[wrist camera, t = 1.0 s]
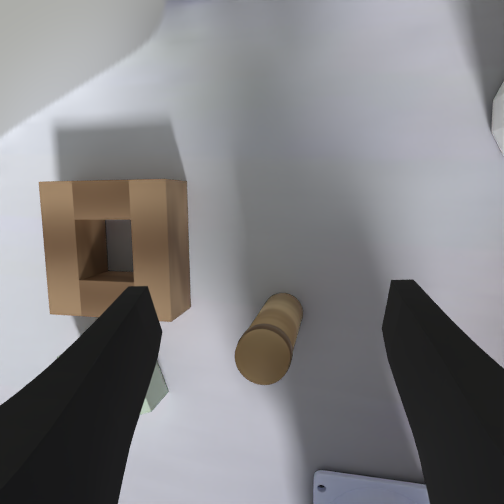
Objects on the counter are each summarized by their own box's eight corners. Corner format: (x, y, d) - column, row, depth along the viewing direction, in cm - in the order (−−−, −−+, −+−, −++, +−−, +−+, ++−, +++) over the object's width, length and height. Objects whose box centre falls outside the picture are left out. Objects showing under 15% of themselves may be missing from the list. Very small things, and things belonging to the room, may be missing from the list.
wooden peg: (303, 333, 23) (290, 388, 16) (263, 330, 24) (234, 383, 17) (303, 293, 23) (290, 332, 16) (262, 291, 23) (233, 329, 17)
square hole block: (190, 307, 25) (171, 321, 22) (81, 301, 26) (49, 314, 23) (186, 181, 23) (165, 178, 21) (73, 183, 25) (38, 181, 22)
